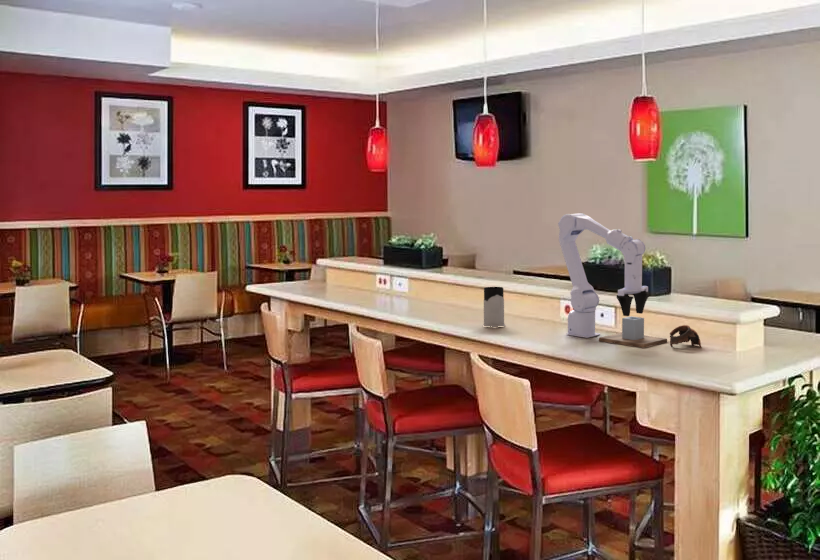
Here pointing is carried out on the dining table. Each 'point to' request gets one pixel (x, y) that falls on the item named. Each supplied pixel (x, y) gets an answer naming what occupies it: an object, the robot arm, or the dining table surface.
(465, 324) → the dining table surface
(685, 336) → the brown curved band
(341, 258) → the dining table surface
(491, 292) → the glass holder
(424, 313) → the dining table surface
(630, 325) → the sleeve
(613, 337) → the pin plate
